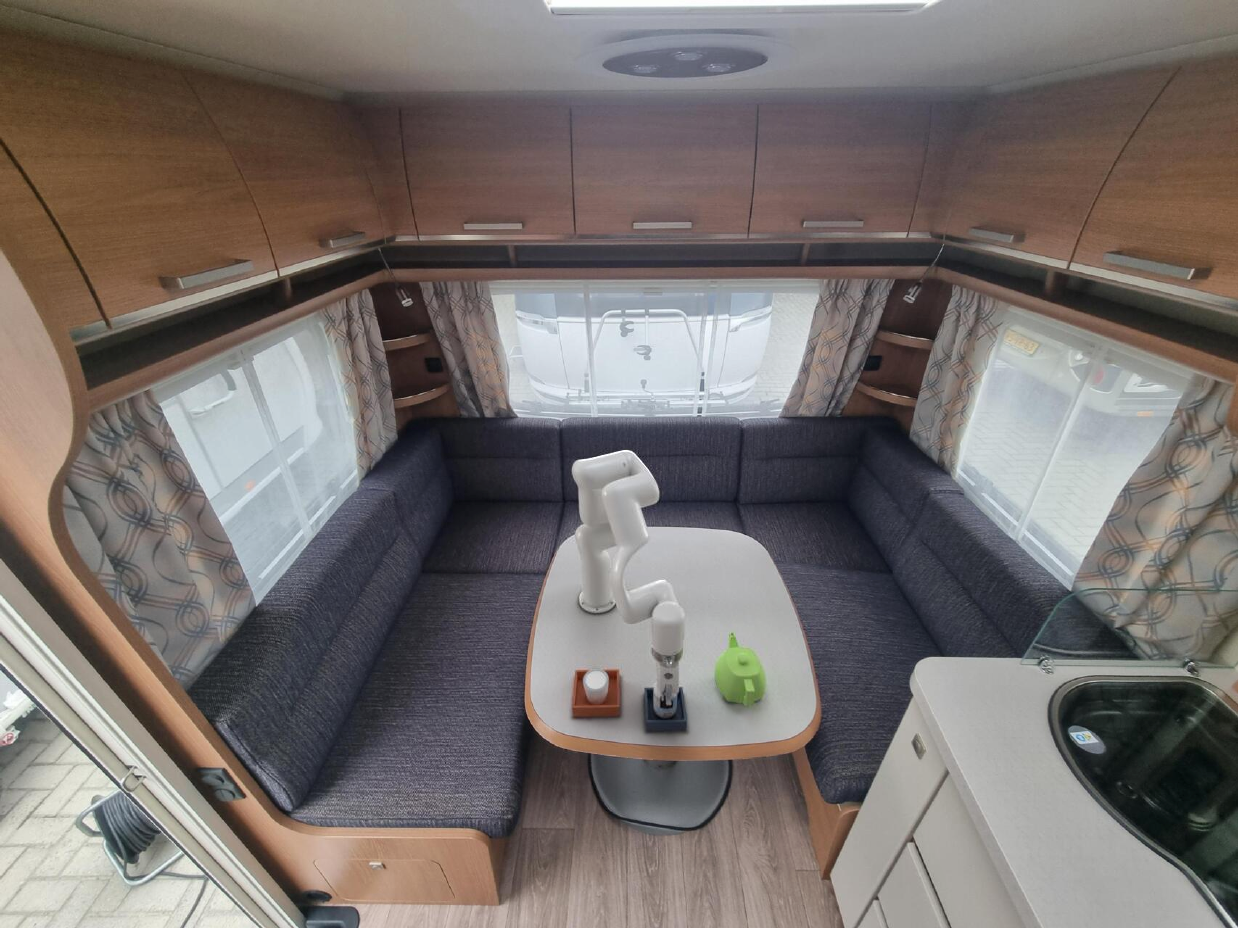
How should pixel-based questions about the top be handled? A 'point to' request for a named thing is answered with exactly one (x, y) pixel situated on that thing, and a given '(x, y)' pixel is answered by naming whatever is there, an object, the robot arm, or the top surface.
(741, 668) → the teapot
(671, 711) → the pill bottle
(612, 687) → the orange brown square tray
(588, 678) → the shot glass
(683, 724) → the bin
